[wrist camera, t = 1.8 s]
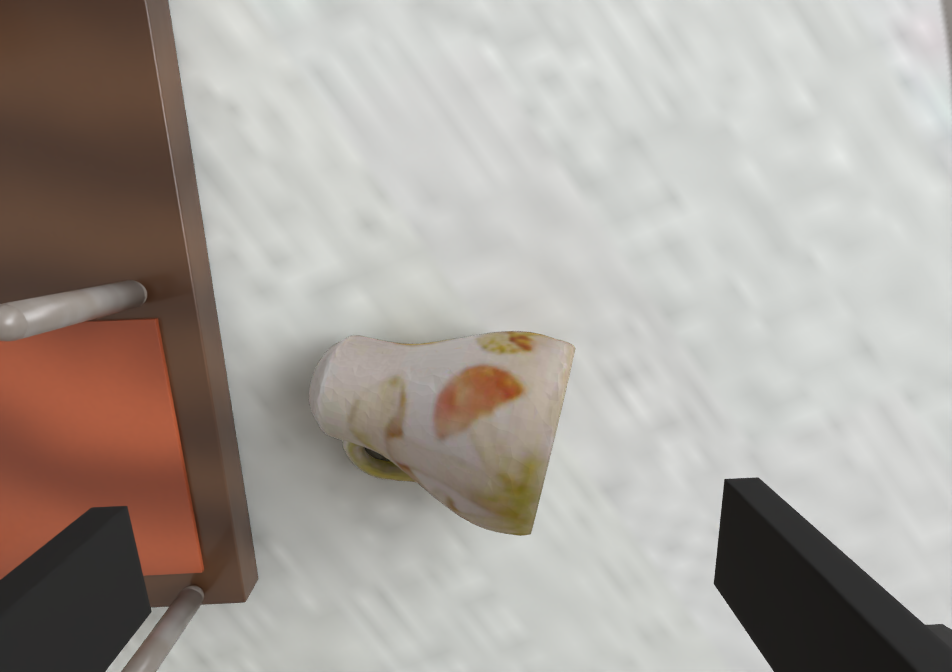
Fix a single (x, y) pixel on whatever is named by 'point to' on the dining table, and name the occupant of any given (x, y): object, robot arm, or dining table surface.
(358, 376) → the mug
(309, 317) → the dining table surface
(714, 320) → the dining table surface
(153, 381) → the rack
